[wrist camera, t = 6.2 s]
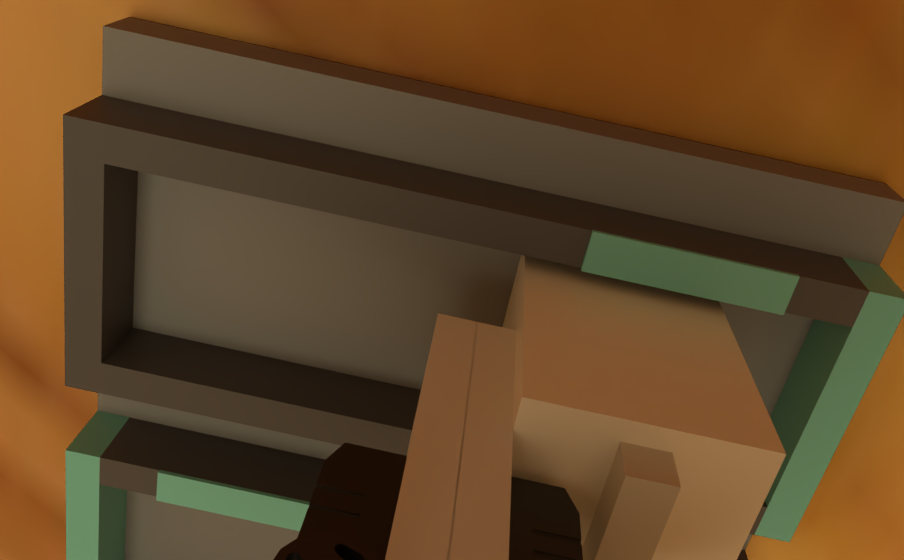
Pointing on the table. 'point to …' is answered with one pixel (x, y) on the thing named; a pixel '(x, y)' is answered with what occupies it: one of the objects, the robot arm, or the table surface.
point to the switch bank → (396, 275)
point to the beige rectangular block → (638, 414)
